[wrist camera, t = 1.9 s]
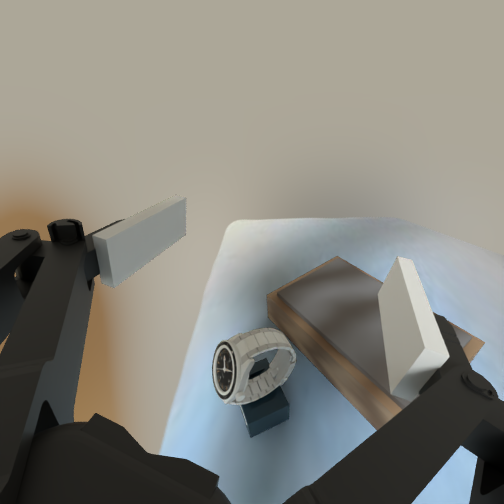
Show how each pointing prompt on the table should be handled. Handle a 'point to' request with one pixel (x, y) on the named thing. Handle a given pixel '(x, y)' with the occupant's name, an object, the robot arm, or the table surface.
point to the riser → (345, 334)
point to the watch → (254, 376)
